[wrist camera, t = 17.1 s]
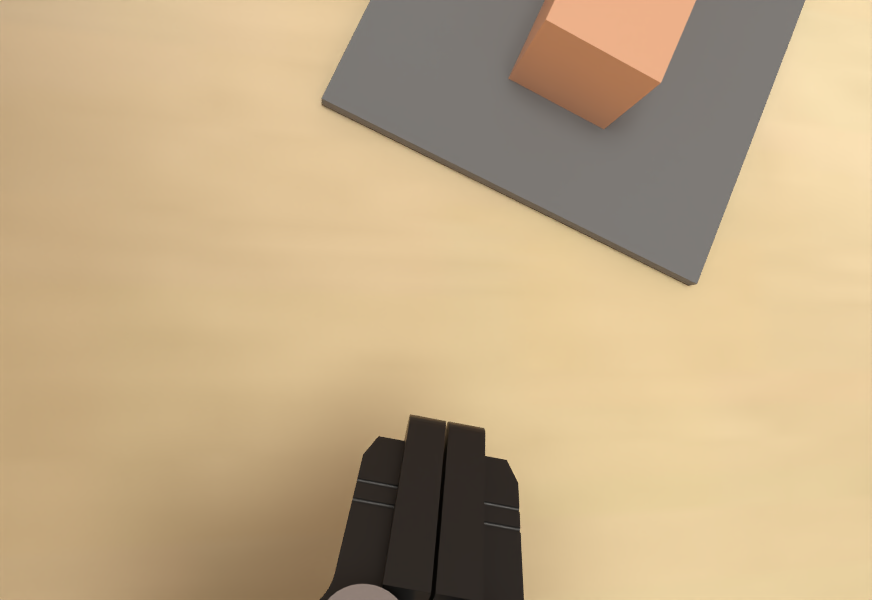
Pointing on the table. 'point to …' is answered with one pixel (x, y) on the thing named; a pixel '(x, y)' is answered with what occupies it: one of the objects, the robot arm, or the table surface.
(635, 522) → the table surface
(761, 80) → the charcoal mat
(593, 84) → the terracotta block
